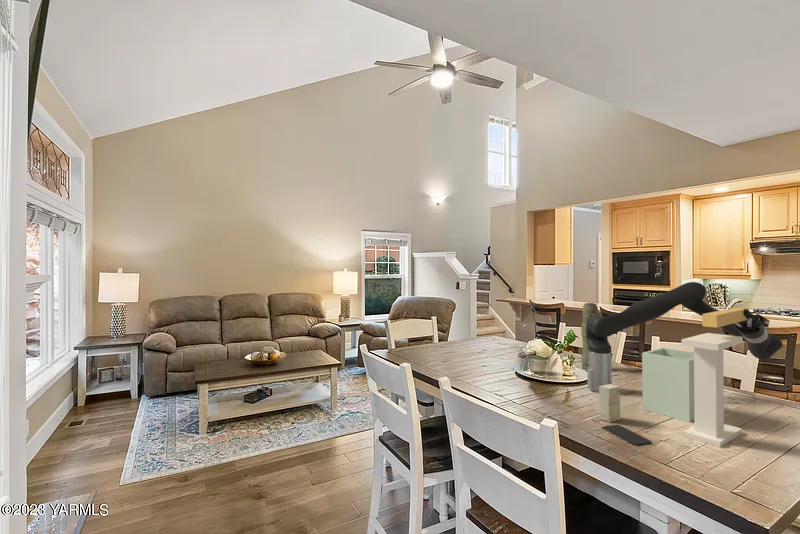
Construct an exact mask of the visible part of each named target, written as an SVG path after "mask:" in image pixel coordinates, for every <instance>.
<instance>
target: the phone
mask: <svg viewBox="0 0 800 534" xmlns="http://www.w3.org/2000/svg"><path fill="white" fill-rule="evenodd" d="M602 428H603V429H602ZM601 429H602V430H604V429H605V430H607V431H609V432H611V433H612V434H611V433H610V434H611V435H613V434H614V435H616V436H618V437H620V438H621V439H620V438H619V439H620V440H622V439H623V440H625V441H627V442H628V443H627V442H626V443H627V444H629V443H630V444H629V445H631V444H632V445H631V446H633V445H640V446H646V445H645V444H647V445H652V444H651V443H652V440H651V439H648V438H647V437H644V436H642V435H640V434H638V433H636V432H634V431H632V430H630V429H628V428H626V427H624V426H622V425H619V424H613V425H612V424H611V425H605V426H602V427H601ZM605 430H604V431H605ZM607 431H606V432H607ZM609 432H608V433H609ZM614 435H613V436H614ZM616 436H615V437H616ZM618 437H617V438H618ZM623 440H622V441H623ZM625 441H624V442H625Z"/></svg>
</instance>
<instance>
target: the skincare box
mask: <svg viewBox="0 0 800 534" xmlns="http://www.w3.org/2000/svg"><path fill="white" fill-rule="evenodd" d="M598 396H599V397H598V398H599V399H598V400H599V401H598V405H599V407H598V409H599V412H598V413H599V415H598V416H599V420H602V421H604V420H605V422H607V421H608V422H607V423H612V422H616V420H617V421H620V420H621V386H620V385H616V384H607V385H602V386H599V392H598Z"/></svg>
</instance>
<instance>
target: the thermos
mask: <svg viewBox="0 0 800 534" xmlns="http://www.w3.org/2000/svg"><path fill="white" fill-rule="evenodd" d="M582 306H583V307H582V312H581V313H582V322H581V323H582V324H581V327H580V328H581V337H582V352H581V369H582V370H586V371H588V366H589V348H588V344H587V336H586V324H587V320H588V319H589V318H590V317H591V316H593V315H599V307H598V305H597V304H596V303H595V302H594V303H593V302H585V303H583V305H582Z"/></svg>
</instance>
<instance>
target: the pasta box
mask: <svg viewBox="0 0 800 534" xmlns="http://www.w3.org/2000/svg"><path fill="white" fill-rule="evenodd" d="M729 308H730V309H728V308H726V309H721V310H720V311H715V312H710V313H705V314H702V316H701V317H702V319H701V320H702V327H707V328H716V329H717V328H722V327H721V326H725V325H729V324H733V323H737V322H741V321H745V320H748V318H746V317H745V316H744V314H743V312H744V309H747V310H749V311H750V308H749V307H729Z"/></svg>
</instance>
